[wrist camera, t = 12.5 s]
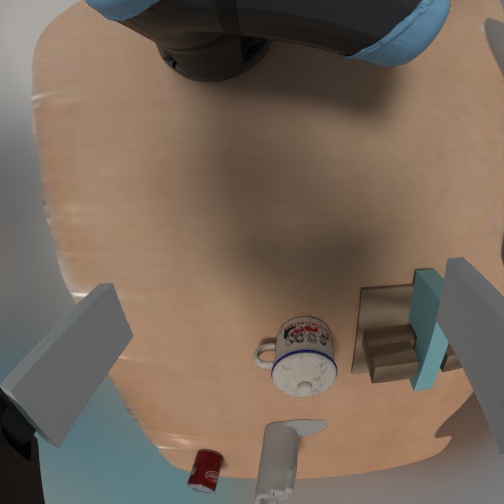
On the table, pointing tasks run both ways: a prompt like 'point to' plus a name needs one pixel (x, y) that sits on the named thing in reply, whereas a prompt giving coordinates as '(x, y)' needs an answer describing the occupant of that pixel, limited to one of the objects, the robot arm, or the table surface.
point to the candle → (281, 458)
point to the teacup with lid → (301, 358)
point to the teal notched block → (427, 327)
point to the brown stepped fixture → (389, 336)
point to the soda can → (205, 471)
